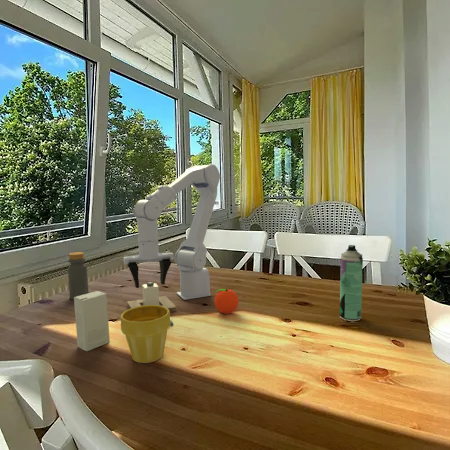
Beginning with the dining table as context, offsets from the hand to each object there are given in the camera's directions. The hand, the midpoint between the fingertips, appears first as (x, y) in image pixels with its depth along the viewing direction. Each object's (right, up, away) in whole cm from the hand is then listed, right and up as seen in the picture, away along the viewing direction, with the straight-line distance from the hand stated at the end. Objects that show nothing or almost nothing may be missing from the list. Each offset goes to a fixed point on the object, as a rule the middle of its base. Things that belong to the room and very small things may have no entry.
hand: (150, 285), depth 106 cm
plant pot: (+6, -10, -30) cm, 32 cm away
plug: (0, -7, +1) cm, 7 cm away
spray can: (+56, -7, -10) cm, 58 cm away
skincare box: (-8, -10, -24) cm, 27 cm away
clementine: (+22, -7, -4) cm, 24 cm away
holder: (0, -7, +1) cm, 7 cm away
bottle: (-26, -6, +13) cm, 30 cm away
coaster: (+3, -8, -11) cm, 14 cm away
